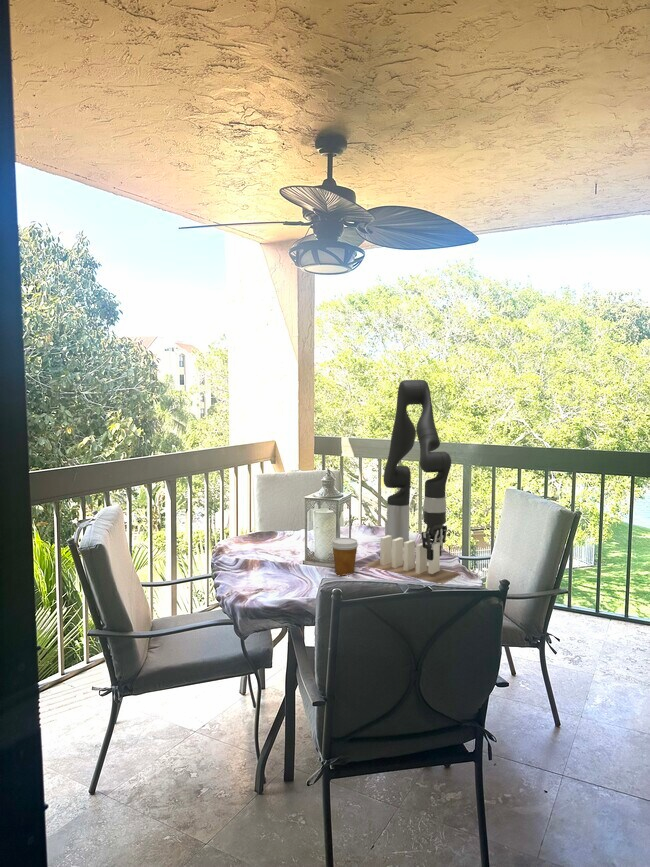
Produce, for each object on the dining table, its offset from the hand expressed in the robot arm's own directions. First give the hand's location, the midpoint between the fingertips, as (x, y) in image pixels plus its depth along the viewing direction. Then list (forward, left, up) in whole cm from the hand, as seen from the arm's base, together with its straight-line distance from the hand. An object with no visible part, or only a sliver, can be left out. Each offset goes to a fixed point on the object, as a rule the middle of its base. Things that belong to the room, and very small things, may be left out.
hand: (434, 557), depth 197 cm
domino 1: (-20, 0, -6) cm, 21 cm away
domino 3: (-10, 0, -6) cm, 12 cm away
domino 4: (-5, 0, -6) cm, 8 cm away
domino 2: (-15, 0, -6) cm, 16 cm away
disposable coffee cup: (-26, -17, -7) cm, 32 cm away
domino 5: (0, 0, -5) cm, 5 cm away
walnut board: (-9, 0, -7) cm, 11 cm away
